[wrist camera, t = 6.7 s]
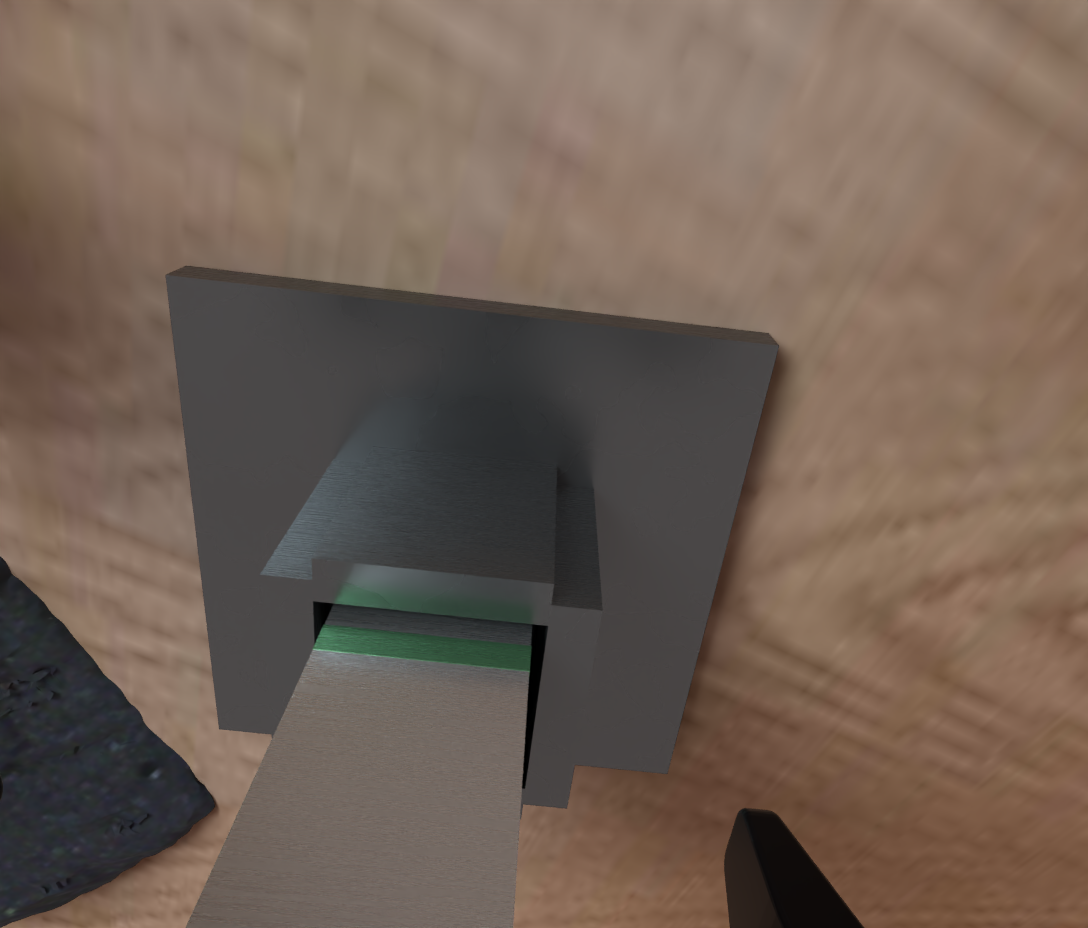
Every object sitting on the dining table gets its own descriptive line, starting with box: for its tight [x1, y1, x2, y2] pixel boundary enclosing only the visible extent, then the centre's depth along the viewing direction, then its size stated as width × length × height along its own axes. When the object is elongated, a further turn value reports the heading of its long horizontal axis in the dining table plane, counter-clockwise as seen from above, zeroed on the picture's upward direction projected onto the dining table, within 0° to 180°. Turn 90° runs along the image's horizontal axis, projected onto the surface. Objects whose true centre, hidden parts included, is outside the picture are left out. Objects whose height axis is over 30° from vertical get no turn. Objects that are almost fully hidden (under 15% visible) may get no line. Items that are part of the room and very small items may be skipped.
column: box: [186, 603, 532, 928], centre depth 11 cm, size 4×4×10 cm
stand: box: [166, 266, 779, 819], centre depth 18 cm, size 14×14×6 cm
